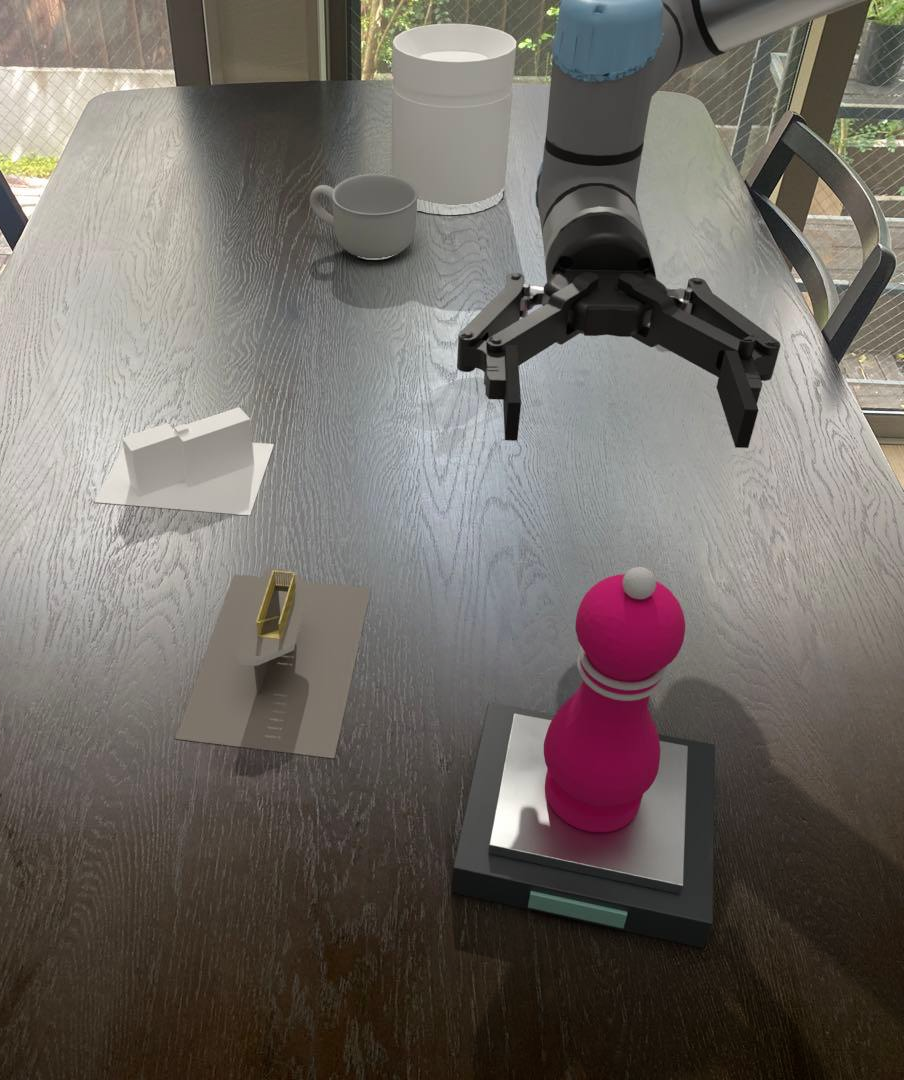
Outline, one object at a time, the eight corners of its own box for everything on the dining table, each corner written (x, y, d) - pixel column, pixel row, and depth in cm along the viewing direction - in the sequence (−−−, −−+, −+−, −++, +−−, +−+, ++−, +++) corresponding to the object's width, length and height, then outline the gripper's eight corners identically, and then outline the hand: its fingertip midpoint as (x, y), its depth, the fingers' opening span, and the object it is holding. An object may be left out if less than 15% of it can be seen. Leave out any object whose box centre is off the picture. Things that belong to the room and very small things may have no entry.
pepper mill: (650, 847, 68) (716, 626, 55) (534, 832, 69) (573, 611, 56) (646, 756, 73) (705, 534, 60) (538, 743, 74) (574, 521, 61)
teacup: (431, 243, 140) (433, 184, 135) (390, 278, 133) (390, 216, 128) (340, 220, 146) (338, 162, 141) (295, 252, 139) (292, 192, 134)
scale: (706, 770, 77) (715, 744, 76) (703, 952, 67) (713, 927, 65) (485, 728, 80) (488, 701, 79) (449, 896, 70) (452, 870, 68)
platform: (371, 588, 92) (371, 530, 88) (334, 758, 78) (332, 699, 74) (234, 574, 93) (227, 516, 89) (175, 738, 80) (163, 679, 76)
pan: (685, 754, 75) (688, 745, 74) (680, 894, 67) (683, 885, 66) (512, 722, 77) (513, 713, 76) (488, 853, 69) (489, 844, 68)
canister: (490, 222, 145) (502, 67, 132) (376, 207, 149) (376, 55, 136) (515, 176, 156) (528, 29, 143) (409, 163, 160) (412, 19, 147)
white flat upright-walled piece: (274, 442, 108) (271, 394, 104) (251, 515, 99) (246, 466, 95) (128, 432, 109) (119, 384, 105) (93, 503, 101) (82, 454, 97)
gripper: (757, 309, 81) (828, 482, 65) (426, 301, 83) (416, 469, 67) (781, 214, 76) (864, 377, 60) (428, 207, 78) (418, 364, 62)
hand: (629, 425), depth 64 cm, fingers open, 13 cm apart
